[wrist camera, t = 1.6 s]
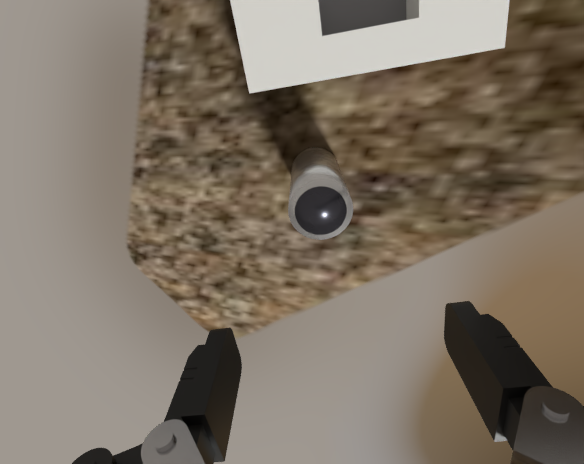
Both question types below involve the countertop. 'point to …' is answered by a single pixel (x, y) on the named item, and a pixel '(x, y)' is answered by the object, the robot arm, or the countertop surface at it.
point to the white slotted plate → (358, 36)
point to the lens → (318, 195)
